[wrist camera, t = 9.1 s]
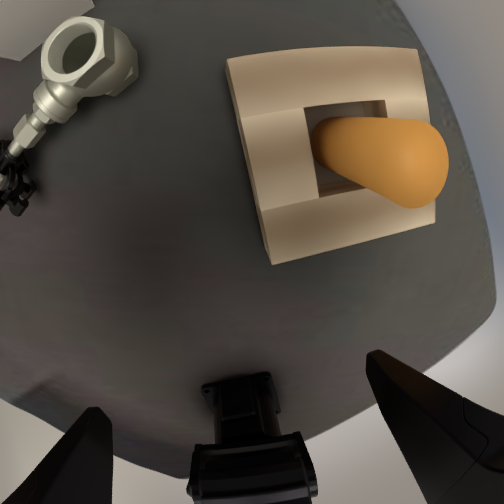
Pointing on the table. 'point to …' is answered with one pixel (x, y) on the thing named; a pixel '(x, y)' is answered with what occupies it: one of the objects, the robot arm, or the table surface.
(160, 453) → the table surface
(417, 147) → the peg
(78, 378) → the table surface
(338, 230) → the socket block
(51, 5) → the corner bracket
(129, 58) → the valve
